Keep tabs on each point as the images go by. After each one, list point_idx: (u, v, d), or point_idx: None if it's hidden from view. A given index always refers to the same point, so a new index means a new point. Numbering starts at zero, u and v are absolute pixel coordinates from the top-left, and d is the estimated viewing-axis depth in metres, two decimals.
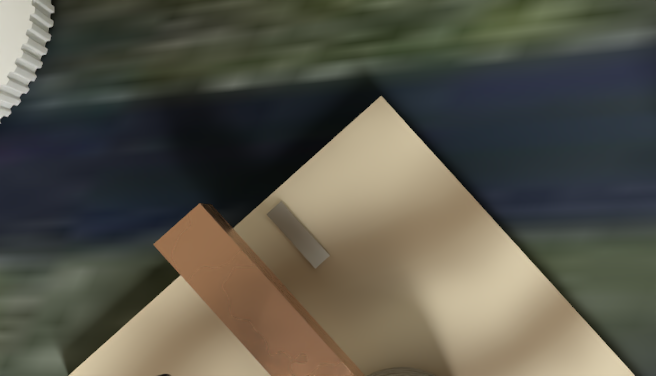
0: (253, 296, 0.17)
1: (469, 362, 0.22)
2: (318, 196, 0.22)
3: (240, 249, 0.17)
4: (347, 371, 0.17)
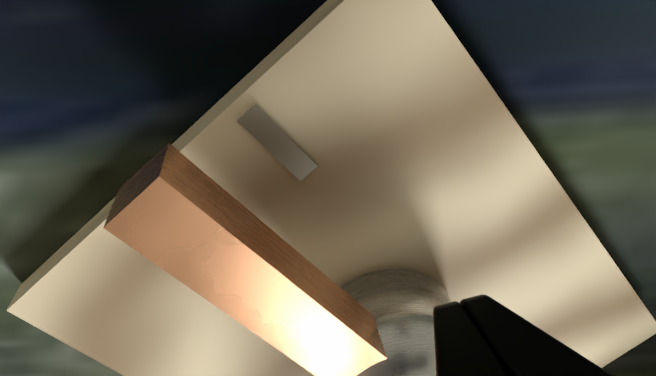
0: (241, 273, 0.14)
1: (458, 257, 0.21)
2: (304, 95, 0.17)
3: (221, 226, 0.13)
4: (348, 330, 0.16)
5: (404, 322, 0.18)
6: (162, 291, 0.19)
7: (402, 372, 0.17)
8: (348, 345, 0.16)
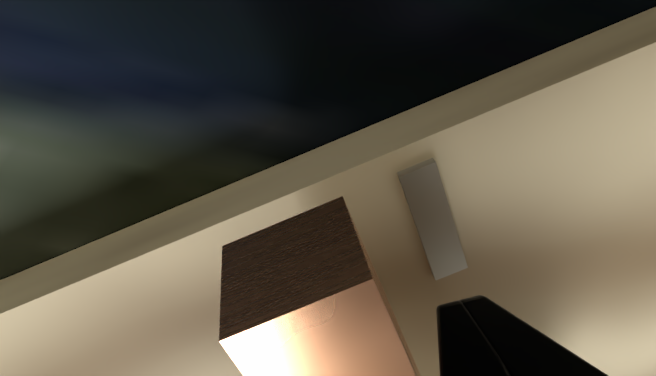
0: None
1: None
2: (498, 168, 0.11)
3: None
4: None
5: None
6: None
7: None
8: None
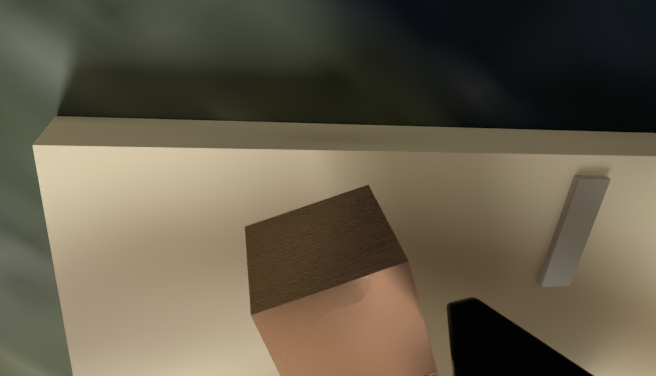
0: None
1: None
2: (638, 208, 0.13)
3: (435, 370, 0.07)
4: None
5: None
6: None
7: None
8: None
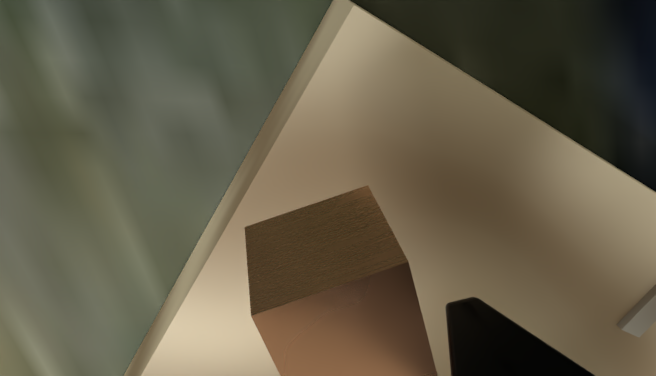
0: None
1: None
2: None
3: (434, 370, 0.07)
4: None
5: None
6: (430, 237, 0.12)
7: None
8: None
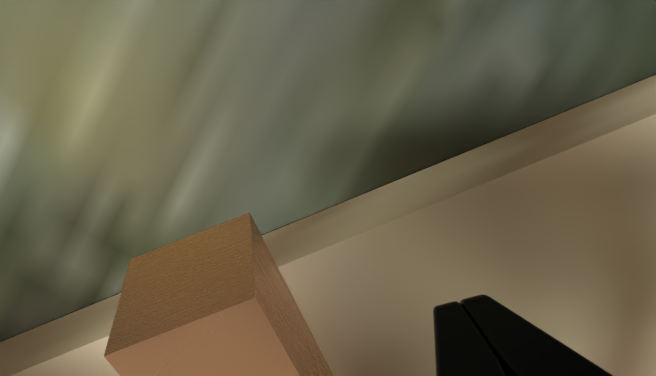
0: None
1: None
2: None
3: None
4: None
5: None
6: (585, 285, 0.14)
7: None
8: None
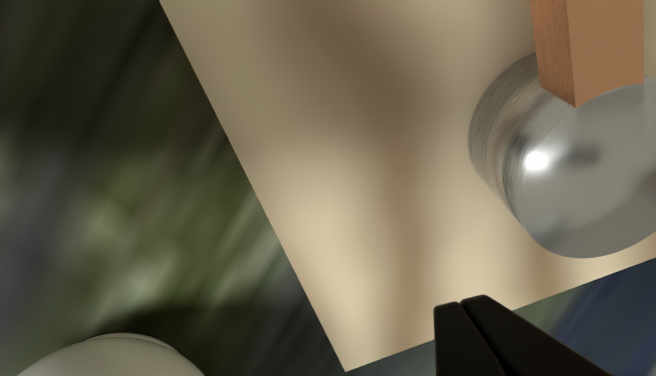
0: None
1: None
2: None
3: None
4: (640, 19, 0.14)
5: None
6: None
7: (643, 112, 0.15)
8: (626, 41, 0.14)
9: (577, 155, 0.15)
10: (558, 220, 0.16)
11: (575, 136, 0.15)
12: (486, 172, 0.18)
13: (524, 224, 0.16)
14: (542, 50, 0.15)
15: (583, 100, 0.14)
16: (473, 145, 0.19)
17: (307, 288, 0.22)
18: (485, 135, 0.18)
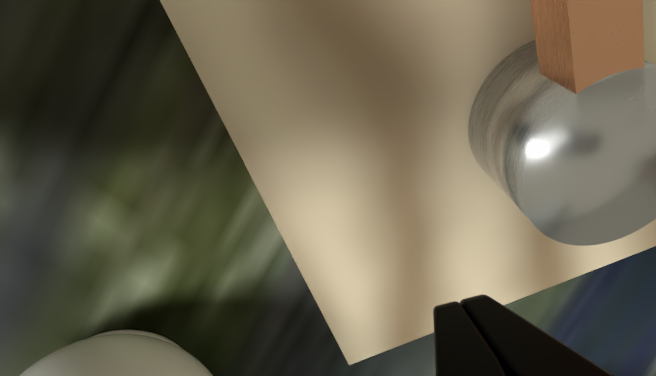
0: None
1: None
2: None
3: None
4: (640, 2, 0.14)
5: None
6: None
7: (643, 97, 0.15)
8: (626, 25, 0.14)
9: (578, 141, 0.15)
10: (560, 207, 0.16)
11: (576, 122, 0.15)
12: (487, 161, 0.18)
13: (526, 212, 0.16)
14: (541, 37, 0.15)
15: (583, 86, 0.14)
16: (474, 134, 0.19)
17: (309, 281, 0.22)
18: (485, 124, 0.18)
